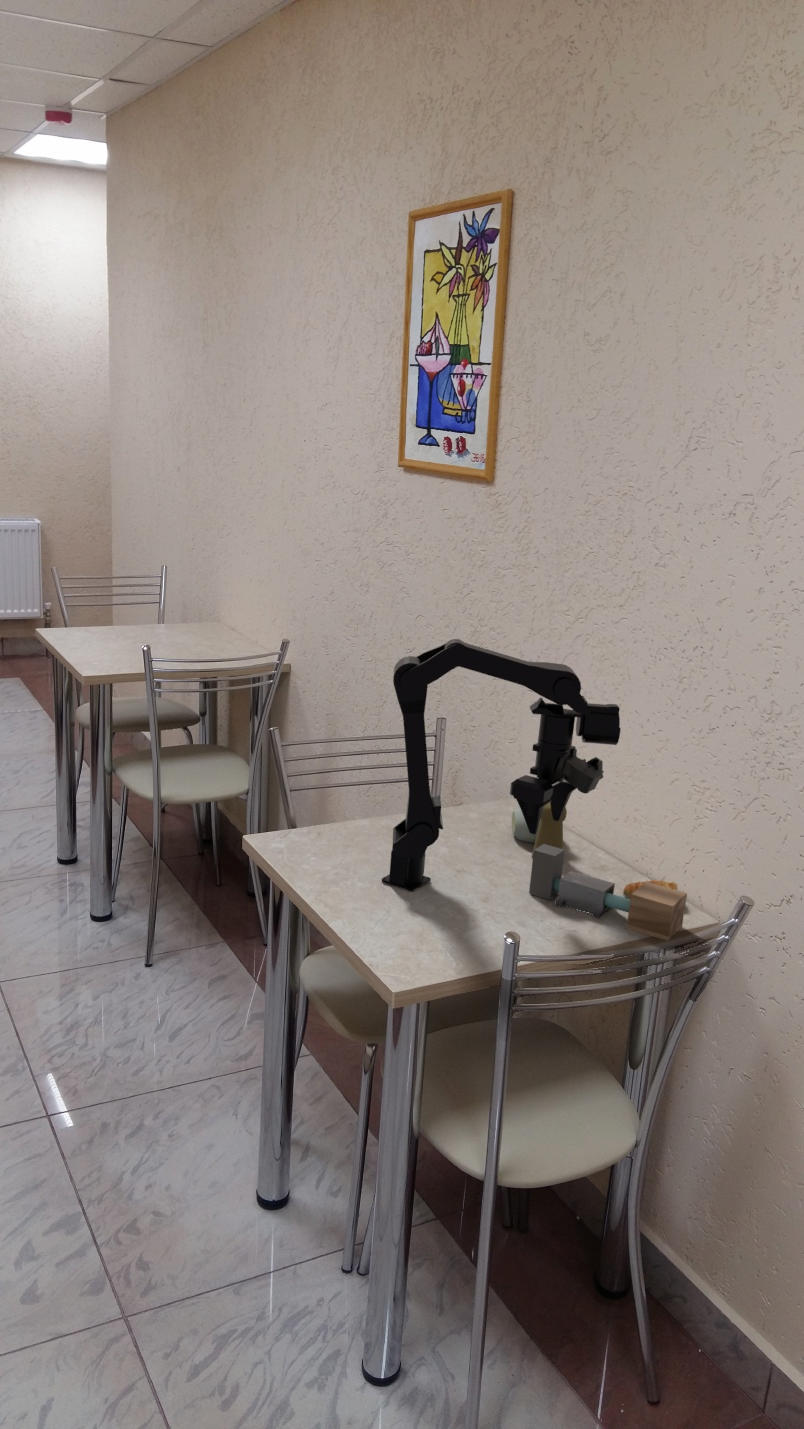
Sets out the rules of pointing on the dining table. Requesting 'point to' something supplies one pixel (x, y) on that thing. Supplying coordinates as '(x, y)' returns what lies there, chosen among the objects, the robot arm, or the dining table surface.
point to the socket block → (656, 910)
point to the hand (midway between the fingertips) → (544, 827)
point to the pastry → (634, 886)
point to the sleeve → (584, 893)
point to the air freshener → (521, 827)
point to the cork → (550, 829)
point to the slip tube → (559, 877)
